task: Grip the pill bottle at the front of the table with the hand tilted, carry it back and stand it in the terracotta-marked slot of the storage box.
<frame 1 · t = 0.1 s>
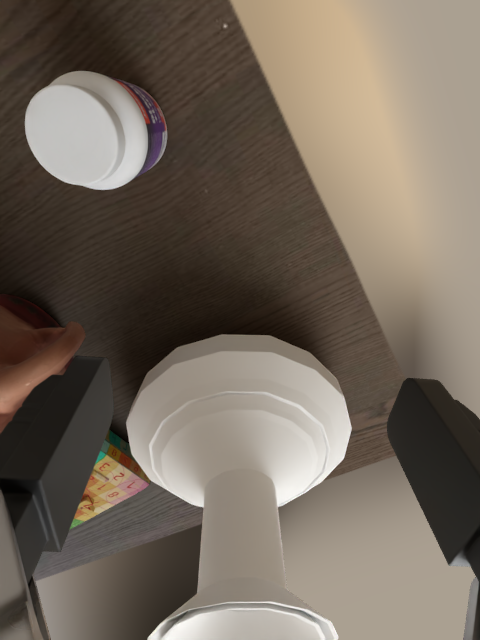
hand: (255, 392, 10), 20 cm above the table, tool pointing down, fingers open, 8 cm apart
white vase: (238, 399, 37), on the table
puzzle game: (57, 462, 41), on the table
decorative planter: (30, 328, 32), on the table
pill bottle: (128, 129, 24), on the table
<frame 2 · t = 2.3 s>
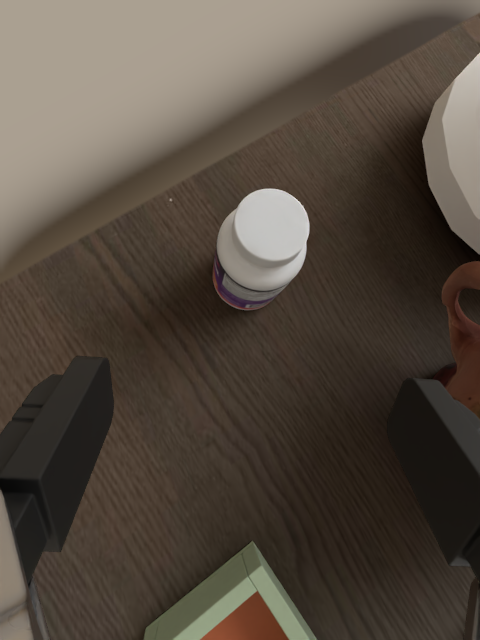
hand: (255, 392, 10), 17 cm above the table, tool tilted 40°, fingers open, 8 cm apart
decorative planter: (453, 406, 28), on the table
pill bottle: (245, 278, 28), on the table
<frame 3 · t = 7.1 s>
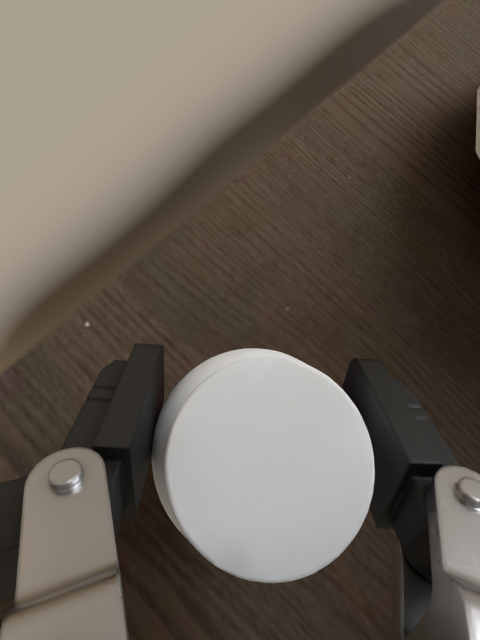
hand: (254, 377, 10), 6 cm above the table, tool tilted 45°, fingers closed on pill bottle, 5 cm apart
pill bottle: (236, 434, 16), on the table, touching gripper
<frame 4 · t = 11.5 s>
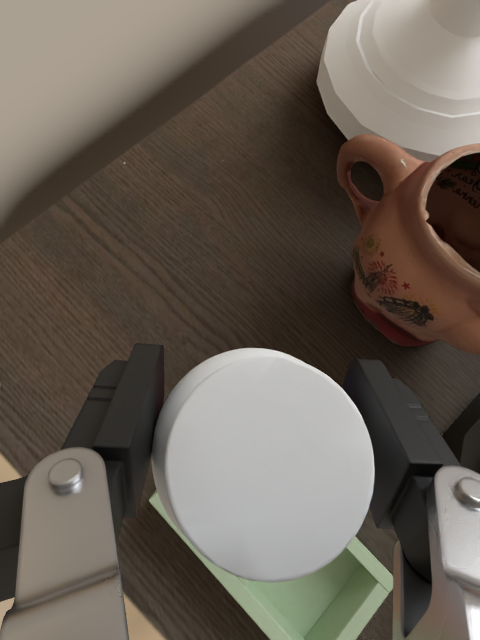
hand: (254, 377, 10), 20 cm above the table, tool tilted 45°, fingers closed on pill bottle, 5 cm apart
white vase: (397, 112, 39), on the table
storage box: (265, 525, 28), on the table
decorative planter: (384, 285, 34), on the table
pill bottle: (236, 434, 16), point 14 cm above the table, touching gripper
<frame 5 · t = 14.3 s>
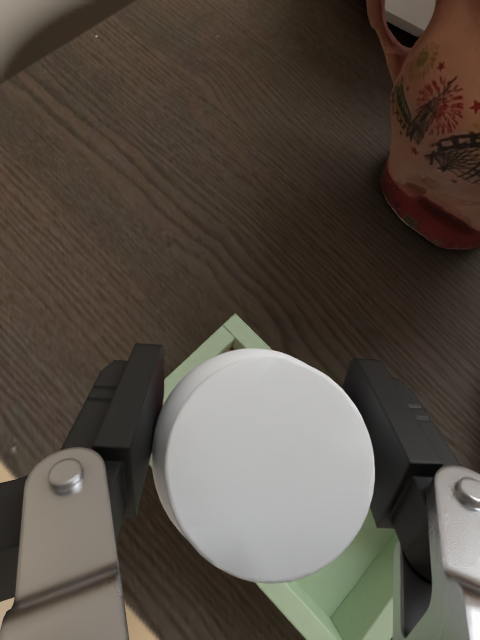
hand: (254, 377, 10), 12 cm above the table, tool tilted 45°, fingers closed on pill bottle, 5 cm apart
storage box: (275, 471, 21), on the table
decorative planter: (420, 181, 27), on the table
pill bottle: (236, 434, 16), point 5 cm above the table, touching gripper
when the fingers open (7 cm above the table, at t = 16.2 s): pill bottle stays where it is, resting on storage box.
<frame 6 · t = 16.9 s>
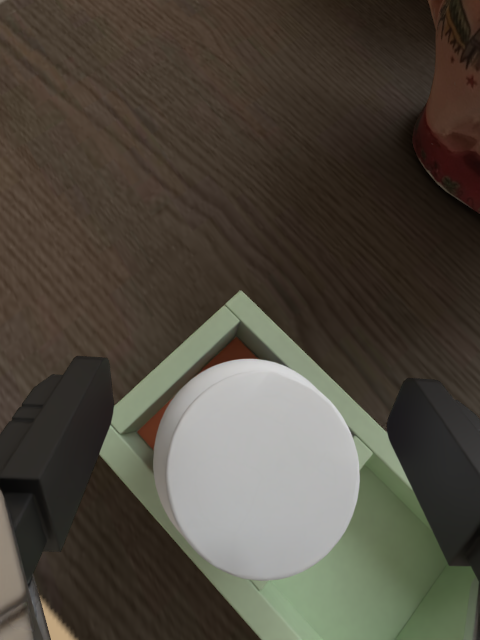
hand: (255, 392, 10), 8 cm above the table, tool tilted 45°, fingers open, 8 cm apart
storage box: (291, 490, 17), on the table
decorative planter: (458, 142, 23), on the table
pill bottle: (234, 437, 17), resting on storage box
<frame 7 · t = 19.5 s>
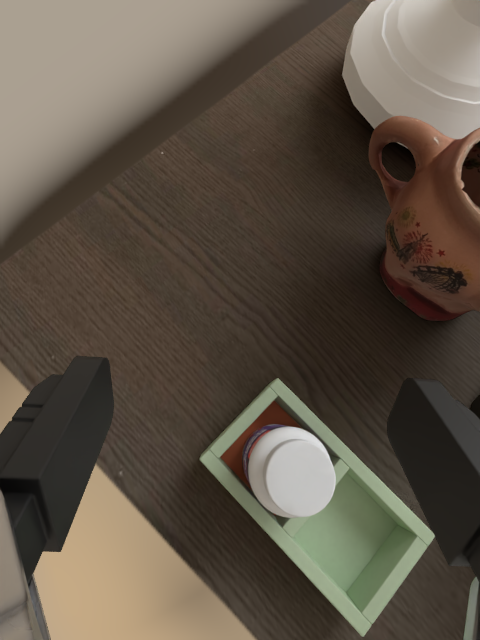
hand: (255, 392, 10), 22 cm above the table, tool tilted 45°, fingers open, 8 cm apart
white vase: (417, 103, 41), on the table
storage box: (305, 488, 29), on the table
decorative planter: (410, 264, 36), on the table
pill bottle: (273, 458, 29), resting on storage box
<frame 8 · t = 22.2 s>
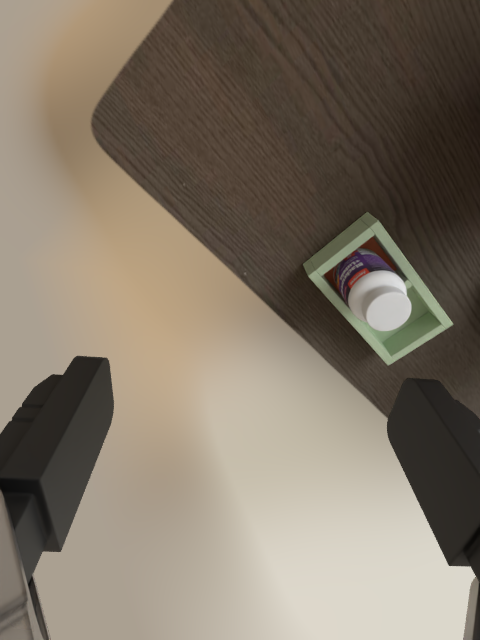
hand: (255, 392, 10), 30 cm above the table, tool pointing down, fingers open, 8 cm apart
storage box: (373, 288, 42), on the table
pill bottle: (355, 269, 40), resting on storage box
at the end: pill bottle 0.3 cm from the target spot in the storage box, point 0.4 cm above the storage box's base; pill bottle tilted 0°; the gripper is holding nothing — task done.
